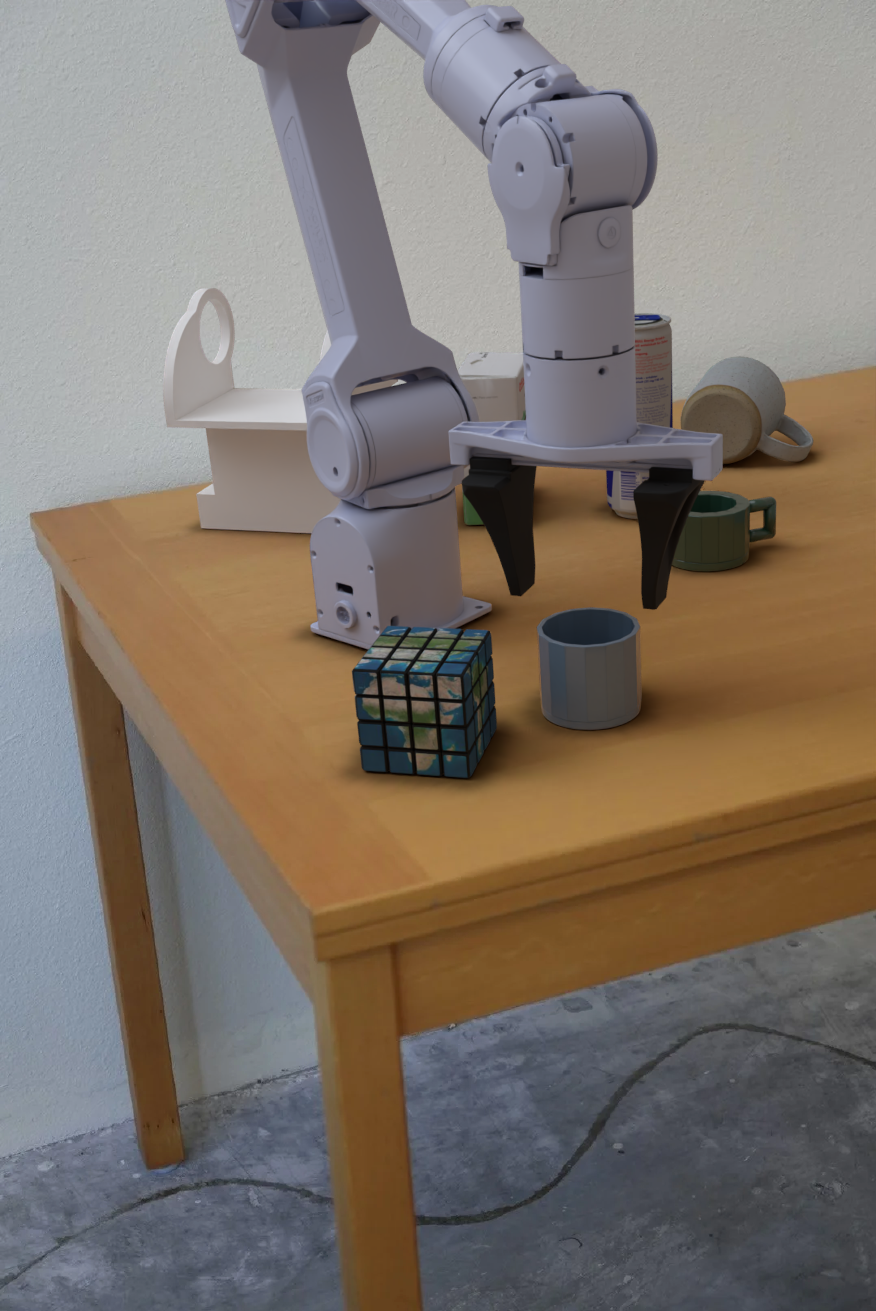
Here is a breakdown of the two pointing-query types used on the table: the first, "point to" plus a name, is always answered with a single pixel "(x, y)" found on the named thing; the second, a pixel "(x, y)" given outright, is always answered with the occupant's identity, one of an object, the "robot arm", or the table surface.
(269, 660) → the table surface
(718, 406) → the ceramic mug
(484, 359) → the ink box
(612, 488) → the beverage can
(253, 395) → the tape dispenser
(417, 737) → the puzzle
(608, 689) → the blue cup
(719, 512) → the green mug
